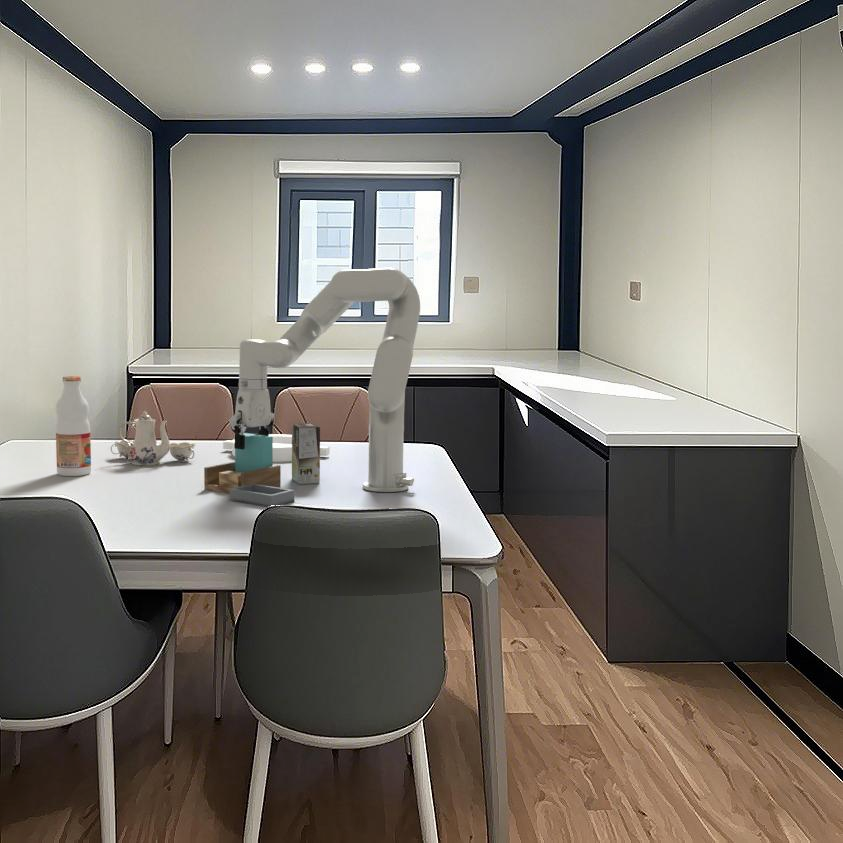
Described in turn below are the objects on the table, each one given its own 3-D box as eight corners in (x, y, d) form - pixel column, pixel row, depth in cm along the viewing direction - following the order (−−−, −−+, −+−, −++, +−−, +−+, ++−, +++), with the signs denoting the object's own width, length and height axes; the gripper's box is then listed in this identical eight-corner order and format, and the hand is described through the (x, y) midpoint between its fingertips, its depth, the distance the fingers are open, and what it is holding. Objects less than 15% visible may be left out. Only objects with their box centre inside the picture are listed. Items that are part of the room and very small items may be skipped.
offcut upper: (248, 482, 285) (248, 473, 285) (237, 485, 282) (237, 475, 281) (229, 479, 289) (229, 470, 289) (219, 481, 286) (218, 472, 285)
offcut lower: (248, 491, 286) (248, 482, 285) (238, 494, 282) (238, 484, 282) (229, 488, 289) (229, 479, 289) (219, 490, 286) (219, 481, 286)
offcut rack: (280, 486, 291) (280, 465, 291) (243, 495, 279) (243, 473, 278) (241, 481, 299) (241, 460, 298) (204, 489, 286) (204, 467, 285)
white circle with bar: (333, 458, 340) (333, 444, 339) (250, 465, 326) (250, 449, 325) (298, 446, 364) (298, 432, 363) (220, 451, 350) (220, 437, 349)
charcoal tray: (294, 501, 273) (294, 490, 273) (271, 507, 266) (271, 495, 265) (253, 494, 280) (253, 483, 280) (229, 500, 273) (229, 489, 272)
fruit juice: (53, 472, 306) (50, 375, 302) (85, 469, 311) (83, 374, 308) (61, 478, 298) (59, 378, 295) (95, 475, 304) (93, 377, 300)
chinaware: (202, 464, 334) (203, 411, 333) (185, 468, 317) (186, 412, 317) (115, 461, 336) (116, 408, 336) (94, 464, 320) (95, 409, 319)
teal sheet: (272, 486, 292) (272, 436, 290) (263, 489, 288) (262, 438, 286) (244, 482, 297) (244, 433, 295) (235, 484, 294) (235, 434, 292)
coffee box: (320, 483, 298) (321, 426, 295) (298, 484, 295) (298, 427, 293) (312, 477, 306) (312, 422, 304) (290, 478, 304) (290, 423, 302)
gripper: (241, 388, 280) (240, 452, 282) (284, 384, 294) (282, 445, 297) (220, 385, 284) (219, 448, 286) (263, 381, 298) (261, 441, 300)
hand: (251, 446), depth 291 cm, fingers open, 9 cm apart
